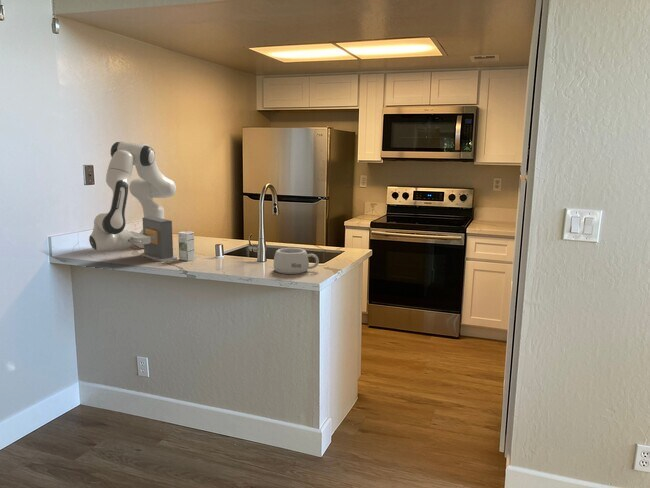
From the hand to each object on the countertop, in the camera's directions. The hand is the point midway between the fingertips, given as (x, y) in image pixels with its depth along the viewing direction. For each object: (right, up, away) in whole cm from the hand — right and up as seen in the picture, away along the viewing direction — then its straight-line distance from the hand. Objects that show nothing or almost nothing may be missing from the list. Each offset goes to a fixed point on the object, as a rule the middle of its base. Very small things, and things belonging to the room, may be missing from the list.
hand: (150, 236), depth 270 cm
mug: (+76, -17, -21) cm, 80 cm away
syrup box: (+19, -12, 0) cm, 22 cm away
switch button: (+1, -3, +2) cm, 4 cm away
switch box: (+2, -11, +5) cm, 12 cm away
